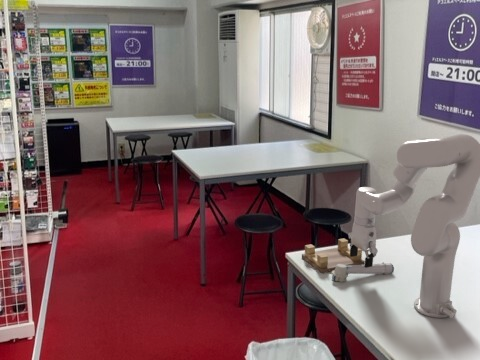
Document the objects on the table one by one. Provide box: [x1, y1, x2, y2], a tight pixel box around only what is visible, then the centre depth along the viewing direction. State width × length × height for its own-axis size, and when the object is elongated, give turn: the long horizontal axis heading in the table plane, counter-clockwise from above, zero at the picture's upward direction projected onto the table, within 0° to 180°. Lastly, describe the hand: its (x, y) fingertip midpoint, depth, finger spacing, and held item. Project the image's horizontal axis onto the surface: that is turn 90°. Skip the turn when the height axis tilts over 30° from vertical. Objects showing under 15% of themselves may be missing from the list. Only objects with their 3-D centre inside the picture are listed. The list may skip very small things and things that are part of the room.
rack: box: [301, 238, 365, 274], centre depth 209 cm, size 16×20×6 cm
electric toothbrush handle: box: [331, 262, 395, 283], centre depth 196 cm, size 5×7×25 cm
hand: (360, 261), depth 196 cm, fingers open, 9 cm apart
